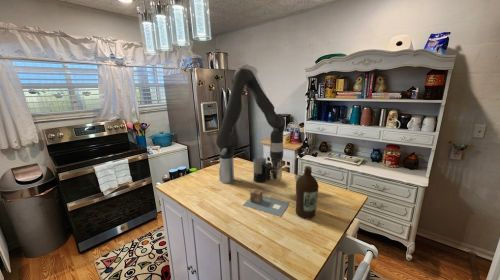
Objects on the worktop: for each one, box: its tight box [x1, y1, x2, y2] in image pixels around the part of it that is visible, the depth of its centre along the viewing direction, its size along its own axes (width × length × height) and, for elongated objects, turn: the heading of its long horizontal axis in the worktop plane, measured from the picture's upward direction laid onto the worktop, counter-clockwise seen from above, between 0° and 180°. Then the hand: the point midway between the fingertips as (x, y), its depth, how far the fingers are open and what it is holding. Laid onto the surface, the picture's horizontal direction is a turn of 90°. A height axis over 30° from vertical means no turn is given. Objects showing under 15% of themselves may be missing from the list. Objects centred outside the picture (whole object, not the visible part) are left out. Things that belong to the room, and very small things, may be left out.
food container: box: [294, 173, 316, 183], centre depth 126 cm, size 12×6×10 cm, turn 62°
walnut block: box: [249, 188, 264, 204], centre depth 116 cm, size 5×5×6 cm
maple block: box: [270, 166, 283, 181], centre depth 122 cm, size 5×5×6 cm
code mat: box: [242, 195, 290, 217], centre depth 114 cm, size 22×14×1 cm, turn 62°
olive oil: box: [295, 165, 319, 220], centre depth 102 cm, size 11×11×25 cm
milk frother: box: [252, 157, 271, 183], centre depth 144 cm, size 14×16×15 cm
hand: (276, 176), depth 123 cm, fingers closed on maple block, 5 cm apart
